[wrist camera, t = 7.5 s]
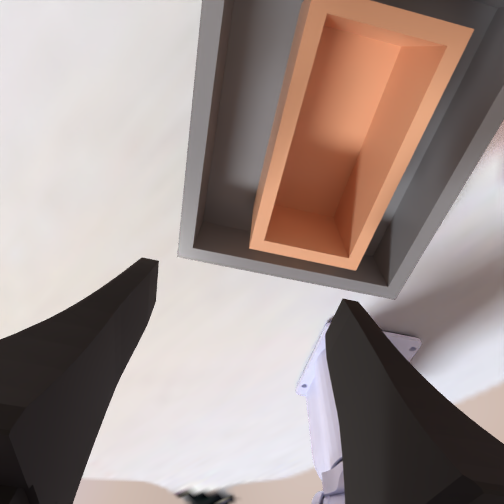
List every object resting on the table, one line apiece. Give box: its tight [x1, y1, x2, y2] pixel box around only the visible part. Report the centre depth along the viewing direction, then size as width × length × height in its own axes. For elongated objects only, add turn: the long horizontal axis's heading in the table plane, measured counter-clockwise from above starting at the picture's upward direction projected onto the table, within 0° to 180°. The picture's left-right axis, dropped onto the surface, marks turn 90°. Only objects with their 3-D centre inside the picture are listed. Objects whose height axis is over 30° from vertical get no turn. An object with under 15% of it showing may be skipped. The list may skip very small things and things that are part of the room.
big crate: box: [177, 0, 504, 300], centre depth 16 cm, size 15×13×4 cm
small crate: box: [249, 0, 474, 271], centre depth 15 cm, size 10×5×5 cm, turn 168°
